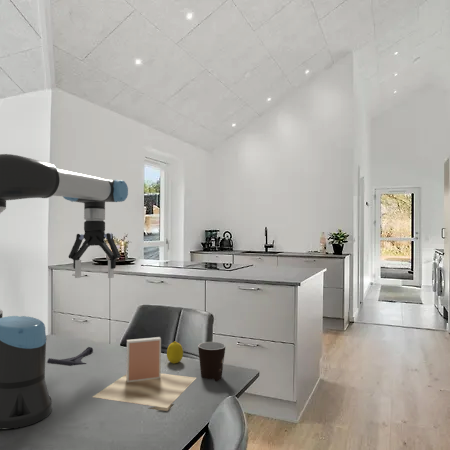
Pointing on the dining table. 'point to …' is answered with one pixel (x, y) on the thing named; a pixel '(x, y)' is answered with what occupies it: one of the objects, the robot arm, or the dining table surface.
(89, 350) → the dark grey forked piece
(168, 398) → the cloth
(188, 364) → the dining table surface
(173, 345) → the lemon
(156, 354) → the tile
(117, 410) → the dining table surface
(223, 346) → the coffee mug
